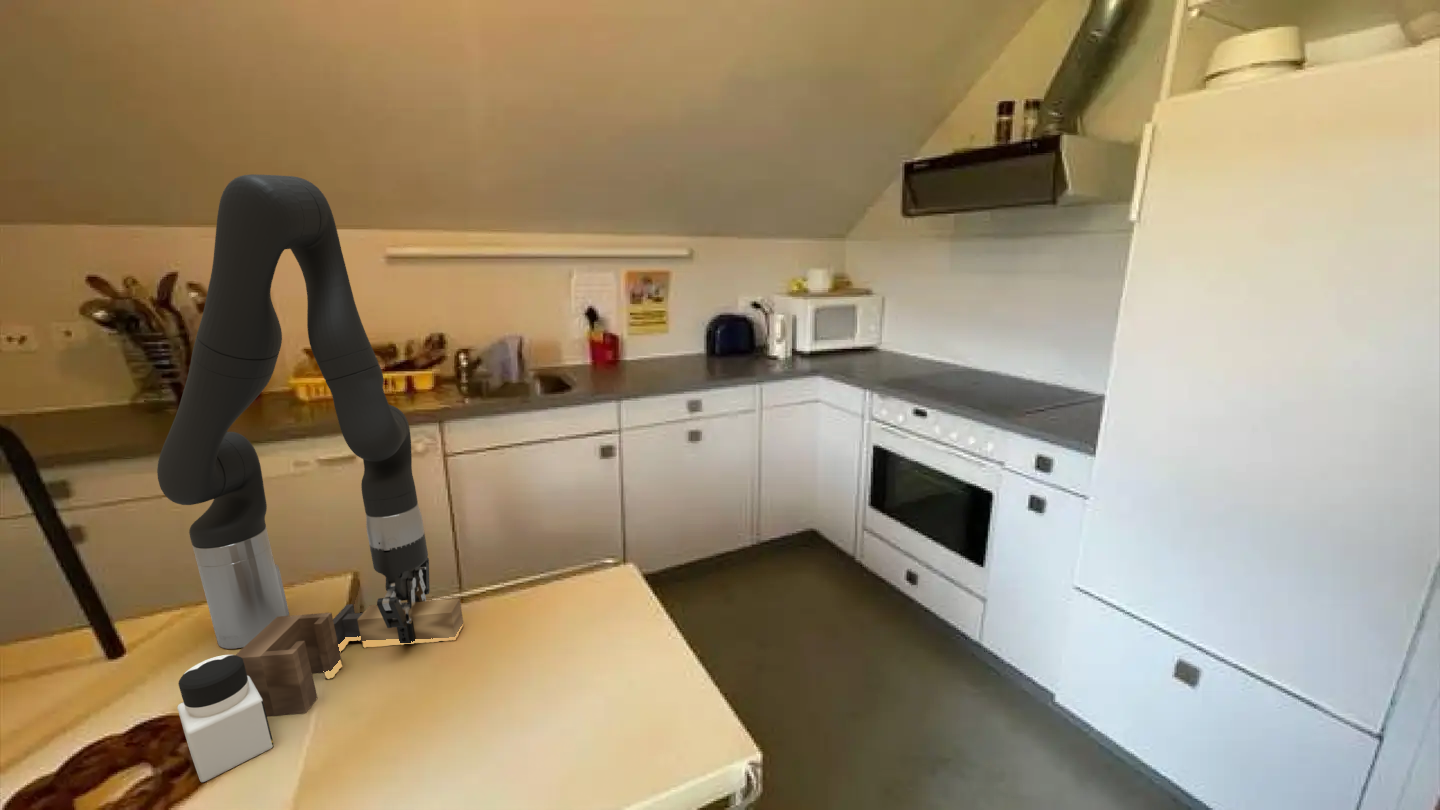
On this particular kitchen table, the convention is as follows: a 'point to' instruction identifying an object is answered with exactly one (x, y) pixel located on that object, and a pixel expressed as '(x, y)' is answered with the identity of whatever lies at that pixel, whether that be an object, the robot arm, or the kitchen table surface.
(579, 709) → the kitchen table surface
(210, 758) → the medicine bottle
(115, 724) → the kitchen table surface
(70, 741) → the kitchen table surface
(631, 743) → the kitchen table surface
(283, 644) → the wooden u-shaped block
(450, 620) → the oak rail
